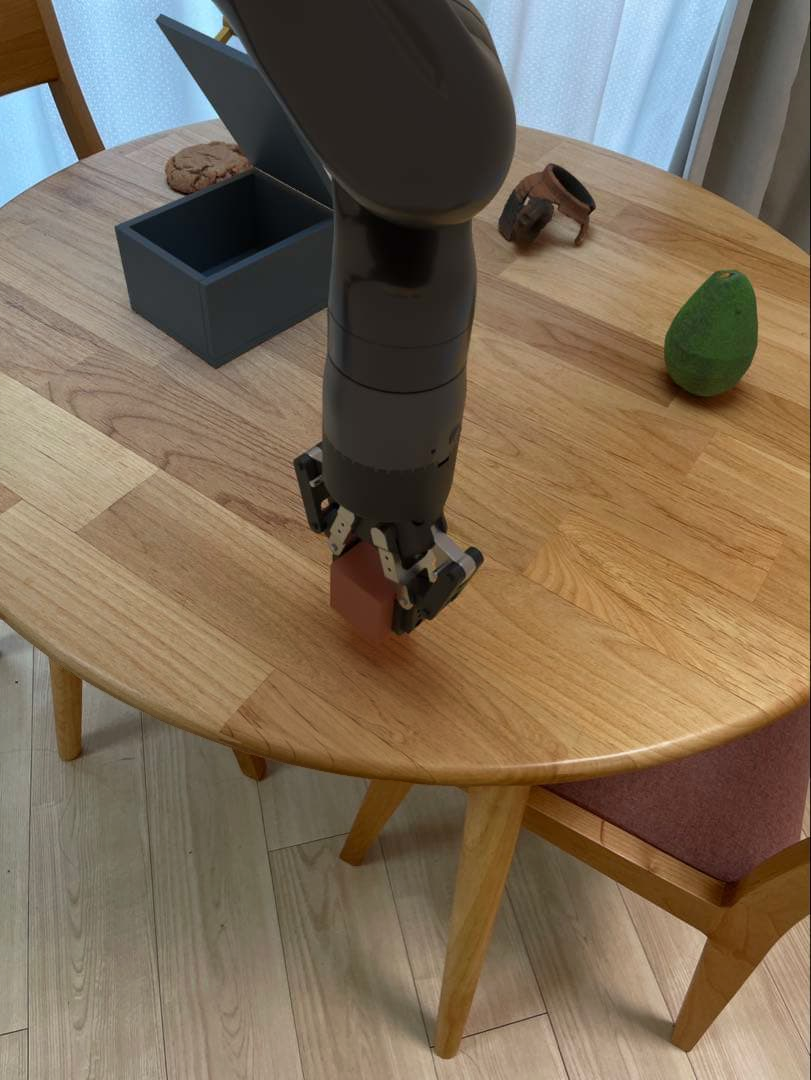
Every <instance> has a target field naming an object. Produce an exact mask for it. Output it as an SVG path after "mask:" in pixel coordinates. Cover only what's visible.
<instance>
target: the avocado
mask: <svg viewBox="0 0 811 1080" xmlns="http://www.w3.org/2000/svg"><path fill="white" fill-rule="evenodd" d="M665 333H666V334H665V337H664V342H663V343H664V346H663V357H664V364H665V368H666V370H667V372H668V374H669V376H670V379H672V381H673V383H675V384H676V385H677V386H679V387H680V388H682V389H683V390H685V391H686V392H688V393H690V394H693V395H695V396H698V397H705V398H707V397H708V398H713V397H717V396H718V395H721V394H723V393H725V392H727V391H729V390H731V389H734V388H735V387H736V386H737V384H738V383H739V382H740V381H741V379H742V378H743V377H744V375H746V373H747V372H748V370H749V369H750V367H751V366H752V364H753V361H754V358H755V354H756V351H757V349H758V342H759V341H758V339H759V318H758V304H757V297H756V292H755V290H754V287H753V285H752V283H751V280H749V278H748V277H747V275H745V274H744V273H742V272H741V271H740V270H737V269H726V270H725V269H724V270H722V269H721V270H716V271H714V272H713V273H712V274H711V275H710V276H709V277H708V278H707V279H705V281H704V282H703V283H702V284H700V286H699V287H698V288H697V289H696V290H695V292H693V293H692V295H691V296H690V297H689V298H688V299H687V301H685V303H684V304H683V305H682V307H680V309H679V310H678V311H677V313H676V315H675V316H674V317H673V320H672V322H671V324H670V326H669V327H668V329H667V331H666V332H665Z"/></svg>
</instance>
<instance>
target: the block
mask: <svg viewBox="0 0 811 1080" xmlns="http://www.w3.org/2000/svg"><path fill="white" fill-rule="evenodd" d="M329 567H330V569H329V589H330V590H329V606H330V608H332V609H333V610H334V611H335V612H337V613H338V614H339V615H340V616H341V617H343V618H344V619H345V620H346V621H348V622H349V623H350V624H351V625H352V626H354V627H355V628H356V629H357V630H359V631H360V632H361V633H362V634H363V635H365V636H366V637H367V638H368V639H370V640H371V641H372V642H373V643H374V644H375V645H377V646H380V645H381V644H382V643H384V641H385V640H387V639H388V638H389V637H390V636H391V635H392V634H393V633H394V632H393V631H392V630H391V627H392V617H393V608H394V600H395V599H396V594H395V590H394V586H393V581H390V580H388V579H386V578H385V575H384V571H383V567H382V563H381V558H380V554H379V552H378V551H377V550H376V549H375V548H374V546H372V545H371V544H369V543H367V542H365V541H363V540H362V541H360V542H359V543H358V544H356V545H355V546H354V547H353V548H351V549H350V550H349V551H347V552H346V553H345V554H343V555H342V556H341V557H340V558H338V559H337V560H336V561H334V562H333V563H332V562H331V563H330V565H329ZM415 578H416V575H415V576H414V577H413V578H412V580H411V582H412V581H413V580H414V579H415Z"/></svg>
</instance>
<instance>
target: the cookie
mask: <svg viewBox="0 0 811 1080" xmlns="http://www.w3.org/2000/svg"><path fill="white" fill-rule="evenodd" d="M251 168H253V166H252V165H251V164H250V163H249V161H248V160H247V158H246V157H245V155H244V154H243V152H242V150H241V149H240V147H239V146H238V144H237V143H231V142H230V143H226V141H220V140H214V141H213V140H212V141H210V142H208V143H200V144H199V143H198V144H195V145H190V146H187V147H183V148H182V149H180V150H179V151H178V152H176V154H174V155H171V156H170V157H169V158H168V160H167V162H166V164H165V167H164V174H165V175H166V183H168V184H169V187H170V188H171V189H174V190H177V191H179V192H182V193H186V194H191V193H194V192H196V191H199V190H201V189H204V188H206V187H208V186H211V185H213V184H215V183H218V182H220V181H222V180H225V179H227V178H230V177H232V176H234V175H237V174H239V173H241V172H244V171H246V170H249V169H251Z"/></svg>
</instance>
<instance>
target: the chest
mask: <svg viewBox="0 0 811 1080" xmlns="http://www.w3.org/2000/svg"><path fill="white" fill-rule="evenodd" d="M113 228H114V233H115V238H116V242H117V248H118V252H119V256H120V261H121V265H122V266H121V267H122V271H123V275H124V281H125V284H126V289H127V294H128V299H129V304H130V308H131V310H132V311H134V312H135V313H137V314H138V315H139V316H141V317H142V318H144V319H145V320H147V321H148V322H149V323H151V324H152V325H153V326H155V327H156V328H158V329H159V330H161V331H162V332H163V333H165V334H166V335H168V336H169V337H171V338H172V339H174V340H175V341H176V342H177V343H179V344H180V345H182V346H183V347H185V348H186V350H187V349H188V350H189V351H190V352H192V354H195V355H196V356H197V357H199V358H200V359H201V360H202V361H204V362H206V363H207V364H209V365H210V366H211V367H213V368H214V369H218V368H220V367H222V366H223V365H225V364H227V363H229V362H230V361H233V360H234V359H236V358H238V357H239V356H241V355H243V354H245V353H247V352H248V351H250V350H252V349H254V348H255V347H257V346H259V345H261V344H263V343H264V342H266V341H268V340H269V339H272V338H273V337H275V336H277V335H279V334H280V333H283V332H284V331H286V330H287V329H290V328H291V327H293V326H295V325H296V324H298V323H300V322H302V321H304V320H305V319H307V318H309V317H311V316H312V315H315V314H316V313H318V312H319V311H321V310H323V309H325V308H327V303H328V282H329V274H330V265H331V256H332V246H333V233H334V218H333V210H332V209H330V208H328V207H326V206H324V205H322V204H321V203H319V202H317V201H315V200H313V199H312V198H310V197H308V196H306V195H304V194H302V193H301V192H299V191H297V190H295V189H293V188H292V187H290V186H288V185H286V184H284V183H282V182H281V181H279V180H277V179H275V178H273V177H272V176H270V175H268V174H266V173H264V172H263V171H261V170H259V169H257V168H255V167H253V168H251V169H249V170H246V171H244V172H241V173H239V174H237V175H234V176H232V177H230V178H227V179H225V180H222V181H220V182H218V183H215V184H213V185H211V186H208V187H206V188H204V189H201V190H199V191H196V192H191V193H188V194H187V195H185V196H182V197H180V198H177V199H175V200H173V201H170V202H168V203H166V204H164V205H161V206H159V207H156V208H153V209H151V210H150V211H147V212H145V213H143V214H139V215H137V216H135V217H133V218H130V219H128V220H125V221H123V222H121V223H118V224H116V225H114V226H113Z"/></svg>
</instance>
